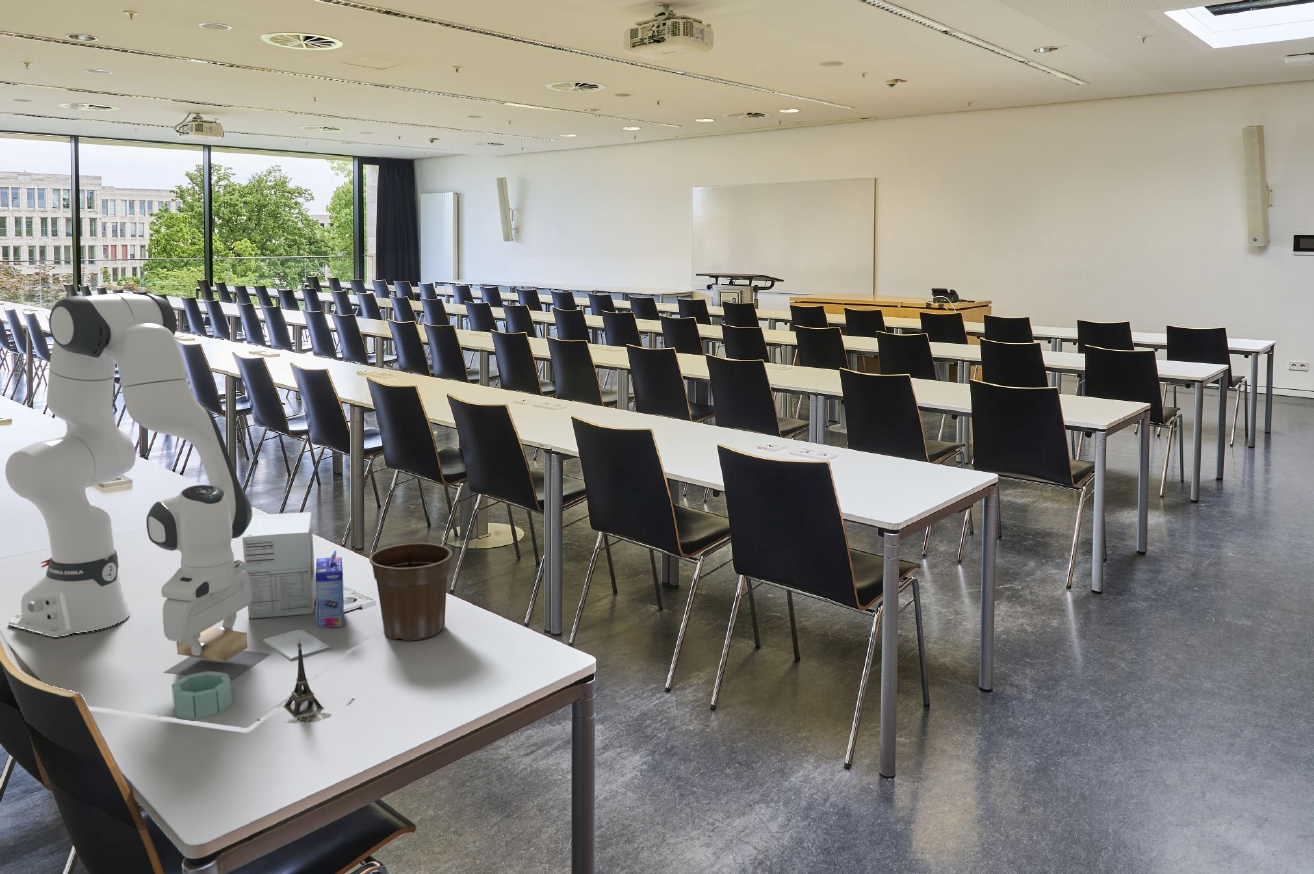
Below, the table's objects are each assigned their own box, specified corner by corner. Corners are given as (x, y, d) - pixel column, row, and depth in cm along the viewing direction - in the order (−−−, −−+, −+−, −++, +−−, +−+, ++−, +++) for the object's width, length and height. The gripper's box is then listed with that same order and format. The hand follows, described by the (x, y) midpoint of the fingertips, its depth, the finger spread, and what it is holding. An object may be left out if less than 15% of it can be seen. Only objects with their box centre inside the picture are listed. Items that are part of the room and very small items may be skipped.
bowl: (162, 716, 165) (160, 691, 164) (198, 693, 174) (196, 669, 173) (209, 723, 163) (206, 697, 162) (242, 699, 172) (240, 675, 171)
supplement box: (314, 614, 210) (309, 532, 206) (247, 620, 206) (241, 537, 202) (317, 586, 226) (312, 510, 222) (254, 591, 222) (249, 514, 218)
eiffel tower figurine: (244, 723, 165) (238, 648, 162) (273, 695, 174) (268, 624, 172) (331, 729, 163) (327, 653, 160) (355, 700, 173) (351, 629, 170)
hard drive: (331, 646, 191) (302, 627, 200) (290, 658, 186) (262, 638, 194) (331, 654, 192) (302, 635, 200) (291, 666, 186) (262, 646, 194)
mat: (164, 675, 180) (163, 672, 180) (207, 648, 192) (207, 645, 192) (231, 684, 177) (231, 680, 177) (271, 656, 189) (271, 653, 189)
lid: (177, 654, 182) (176, 639, 181) (201, 640, 188) (200, 625, 187) (224, 661, 180) (224, 646, 179) (247, 647, 186) (246, 632, 185)
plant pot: (359, 627, 203) (355, 552, 200) (429, 608, 214) (427, 537, 210) (395, 652, 191) (392, 573, 188) (468, 631, 202) (467, 556, 198)
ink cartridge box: (345, 627, 203) (341, 560, 200) (316, 630, 202) (312, 562, 199) (344, 609, 212) (341, 545, 209) (317, 612, 211) (313, 547, 208)
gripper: (230, 554, 191) (233, 621, 194) (154, 591, 172) (159, 665, 175) (258, 558, 190) (262, 625, 193) (185, 596, 170) (190, 670, 173)
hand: (212, 645), depth 184 cm, fingers closed on lid, 6 cm apart
